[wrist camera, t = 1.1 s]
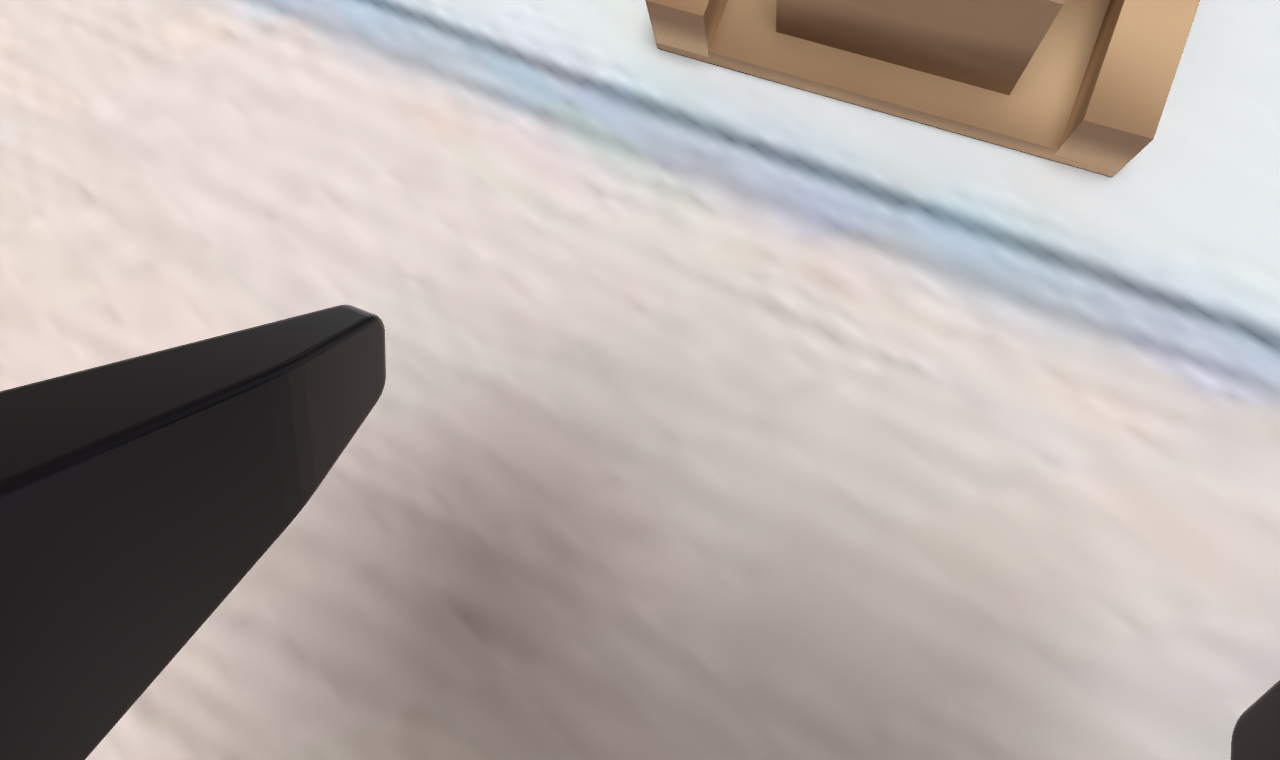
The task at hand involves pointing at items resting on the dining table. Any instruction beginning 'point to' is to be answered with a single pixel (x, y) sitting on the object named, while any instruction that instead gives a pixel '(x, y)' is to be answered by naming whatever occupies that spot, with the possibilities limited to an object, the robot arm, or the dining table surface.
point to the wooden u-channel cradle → (1024, 120)
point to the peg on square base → (930, 34)
